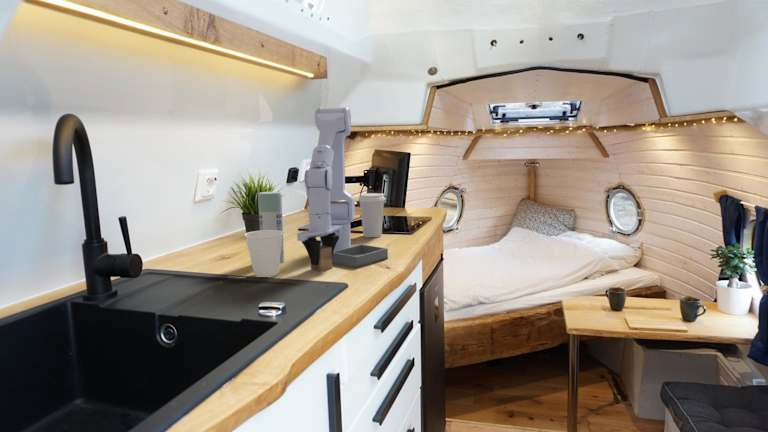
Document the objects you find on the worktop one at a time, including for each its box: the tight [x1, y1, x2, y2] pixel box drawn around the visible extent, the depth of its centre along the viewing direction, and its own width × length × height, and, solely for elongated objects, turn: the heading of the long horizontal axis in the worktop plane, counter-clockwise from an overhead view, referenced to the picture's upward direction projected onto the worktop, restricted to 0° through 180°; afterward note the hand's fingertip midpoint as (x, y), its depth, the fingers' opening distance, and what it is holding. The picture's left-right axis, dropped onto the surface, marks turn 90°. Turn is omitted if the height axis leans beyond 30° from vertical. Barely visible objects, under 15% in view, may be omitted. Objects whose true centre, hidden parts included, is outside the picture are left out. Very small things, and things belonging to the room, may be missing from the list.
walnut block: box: [310, 245, 333, 272], centre depth 138 cm, size 4×4×6 cm
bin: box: [332, 244, 389, 269], centre depth 146 cm, size 10×13×3 cm
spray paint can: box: [257, 191, 285, 265], centre depth 145 cm, size 6×6×20 cm
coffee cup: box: [358, 192, 386, 238], centre depth 182 cm, size 10×10×15 cm
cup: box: [244, 230, 285, 278], centre depth 132 cm, size 10×10×11 cm
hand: (321, 262), depth 138 cm, fingers open, 4 cm apart
